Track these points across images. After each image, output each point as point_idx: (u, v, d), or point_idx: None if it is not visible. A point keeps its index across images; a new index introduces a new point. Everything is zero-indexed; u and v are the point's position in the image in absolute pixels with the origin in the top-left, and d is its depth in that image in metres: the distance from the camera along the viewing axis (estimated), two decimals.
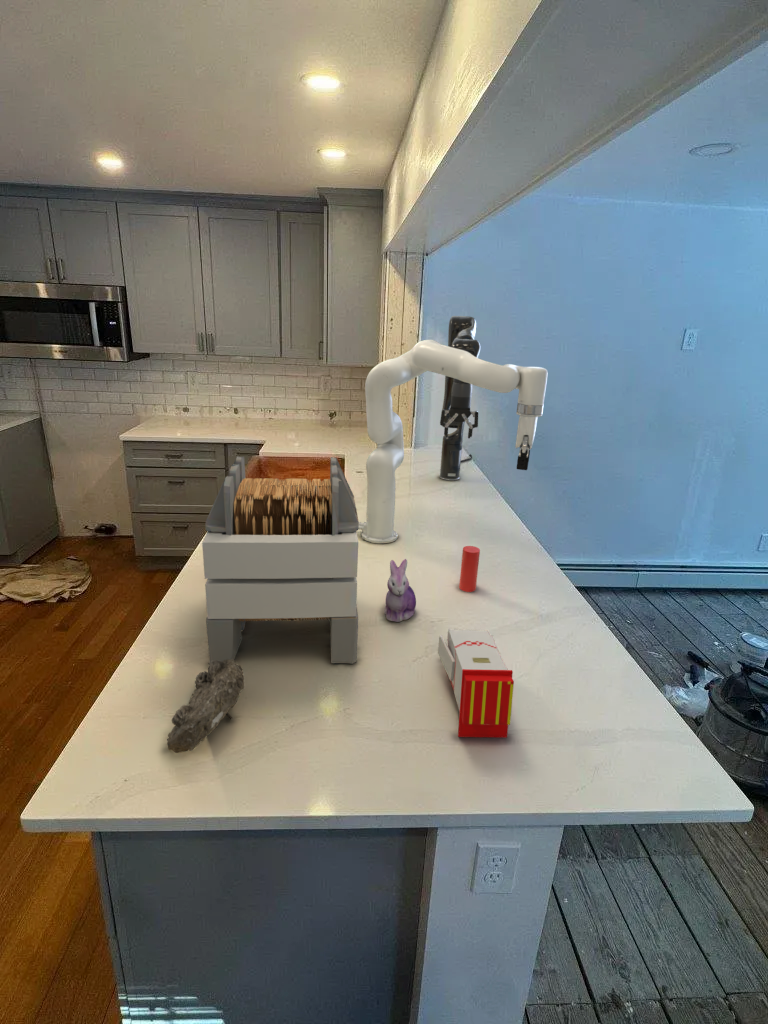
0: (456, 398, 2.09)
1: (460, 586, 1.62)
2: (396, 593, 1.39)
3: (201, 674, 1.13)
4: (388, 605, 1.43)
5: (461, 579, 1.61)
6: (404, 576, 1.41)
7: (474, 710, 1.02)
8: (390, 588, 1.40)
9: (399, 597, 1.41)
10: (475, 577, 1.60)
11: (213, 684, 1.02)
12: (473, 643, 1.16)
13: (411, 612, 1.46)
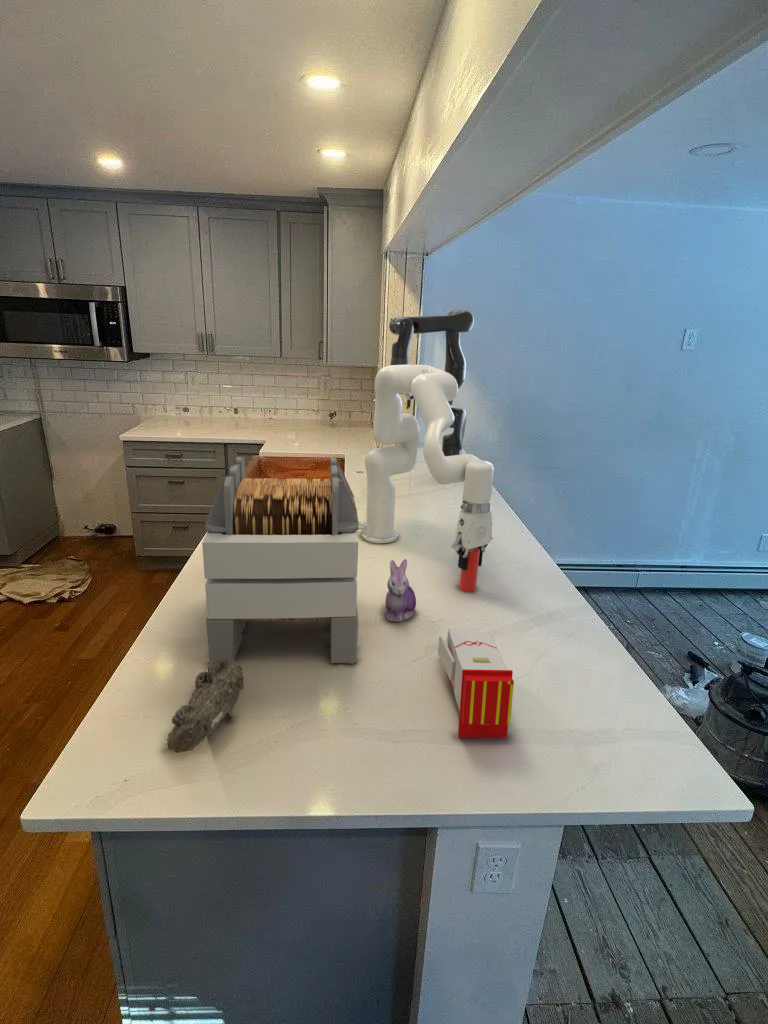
0: None
1: (460, 586, 1.62)
2: (396, 593, 1.39)
3: (201, 674, 1.13)
4: (388, 605, 1.43)
5: (461, 579, 1.61)
6: (404, 576, 1.41)
7: (474, 710, 1.02)
8: (390, 588, 1.40)
9: (399, 597, 1.41)
10: (475, 577, 1.60)
11: (213, 684, 1.02)
12: (473, 643, 1.16)
13: (411, 612, 1.46)
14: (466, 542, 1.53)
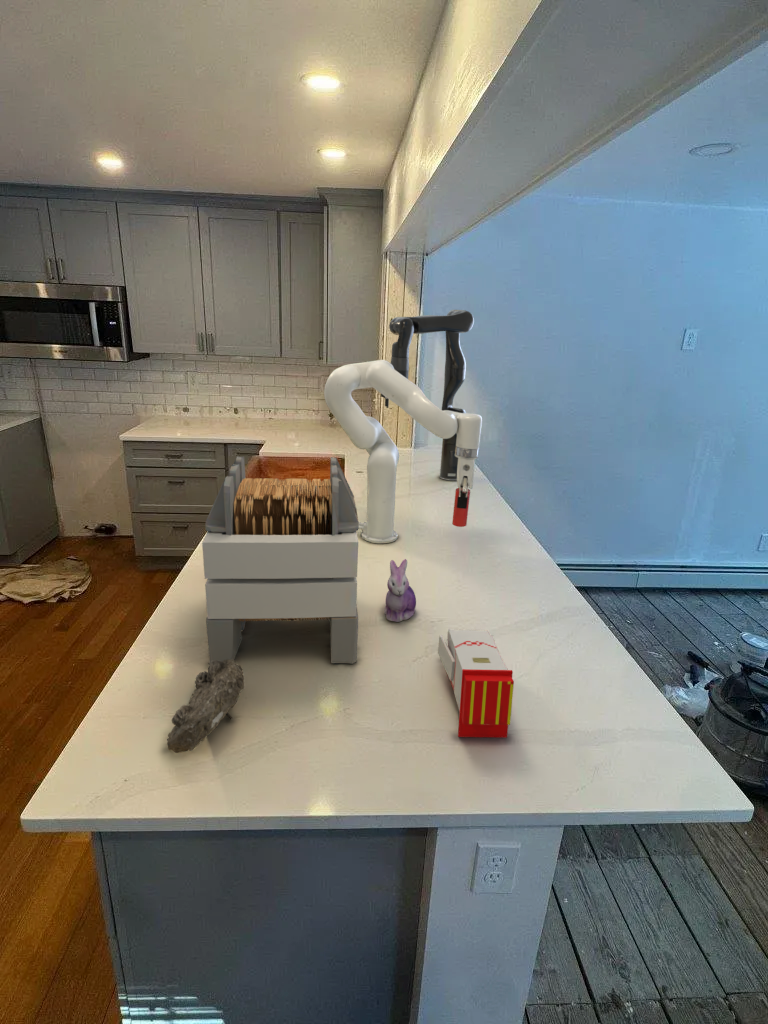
0: None
1: (458, 524, 1.89)
2: (396, 593, 1.39)
3: (201, 674, 1.13)
4: (388, 605, 1.43)
5: (459, 517, 1.88)
6: (404, 576, 1.41)
7: (474, 710, 1.02)
8: (390, 588, 1.40)
9: (399, 597, 1.41)
10: None
11: (213, 684, 1.02)
12: (473, 643, 1.16)
13: (411, 612, 1.46)
14: (472, 483, 1.82)
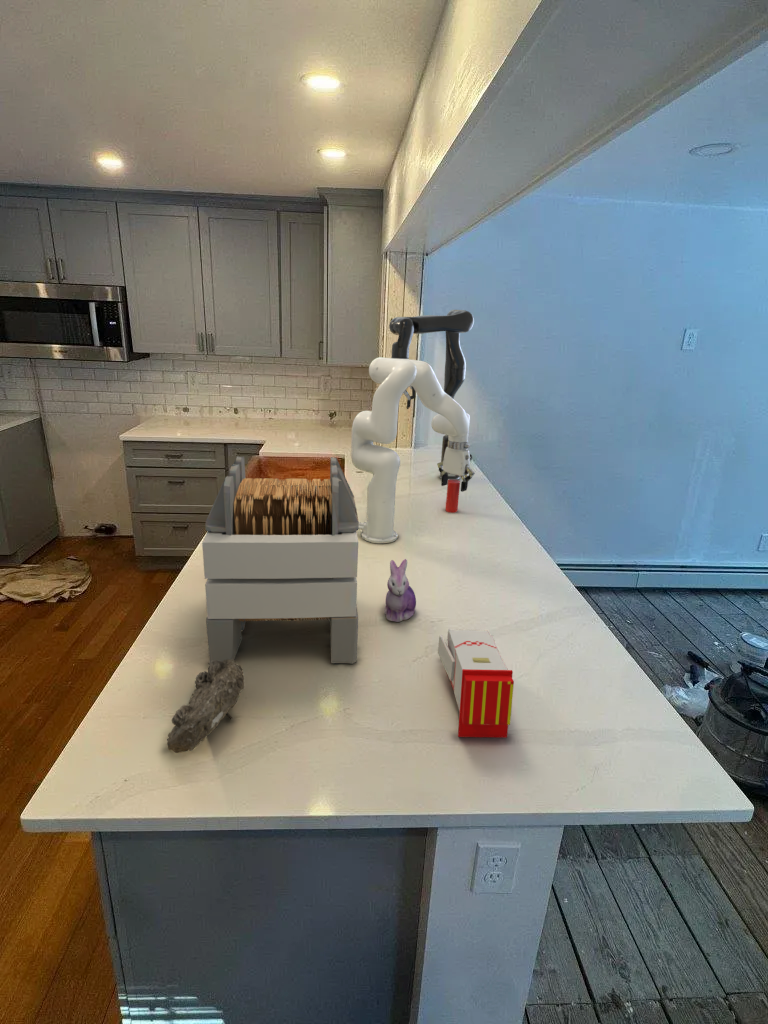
0: None
1: (455, 510, 2.23)
2: (396, 593, 1.39)
3: (201, 674, 1.13)
4: (388, 605, 1.43)
5: (456, 504, 2.23)
6: (404, 576, 1.41)
7: (474, 710, 1.02)
8: (390, 588, 1.40)
9: (399, 597, 1.41)
10: None
11: (213, 684, 1.02)
12: (473, 643, 1.16)
13: (411, 612, 1.46)
14: None
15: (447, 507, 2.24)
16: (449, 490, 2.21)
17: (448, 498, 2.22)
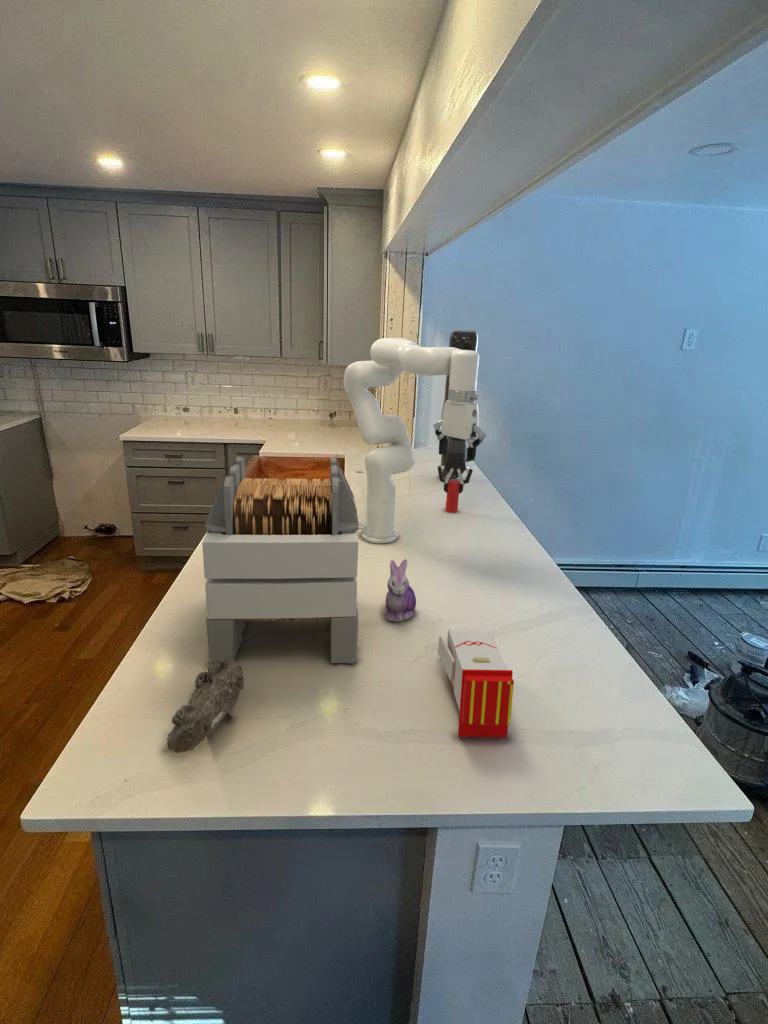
0: (451, 454, 2.15)
1: (455, 510, 2.23)
2: (396, 593, 1.39)
3: (201, 674, 1.13)
4: (388, 605, 1.43)
5: (456, 504, 2.23)
6: (404, 576, 1.41)
7: (474, 710, 1.02)
8: (390, 588, 1.40)
9: (399, 597, 1.41)
10: None
11: (213, 684, 1.02)
12: (473, 643, 1.16)
13: (411, 612, 1.46)
14: None
15: (447, 507, 2.24)
16: (449, 490, 2.21)
17: (448, 498, 2.22)
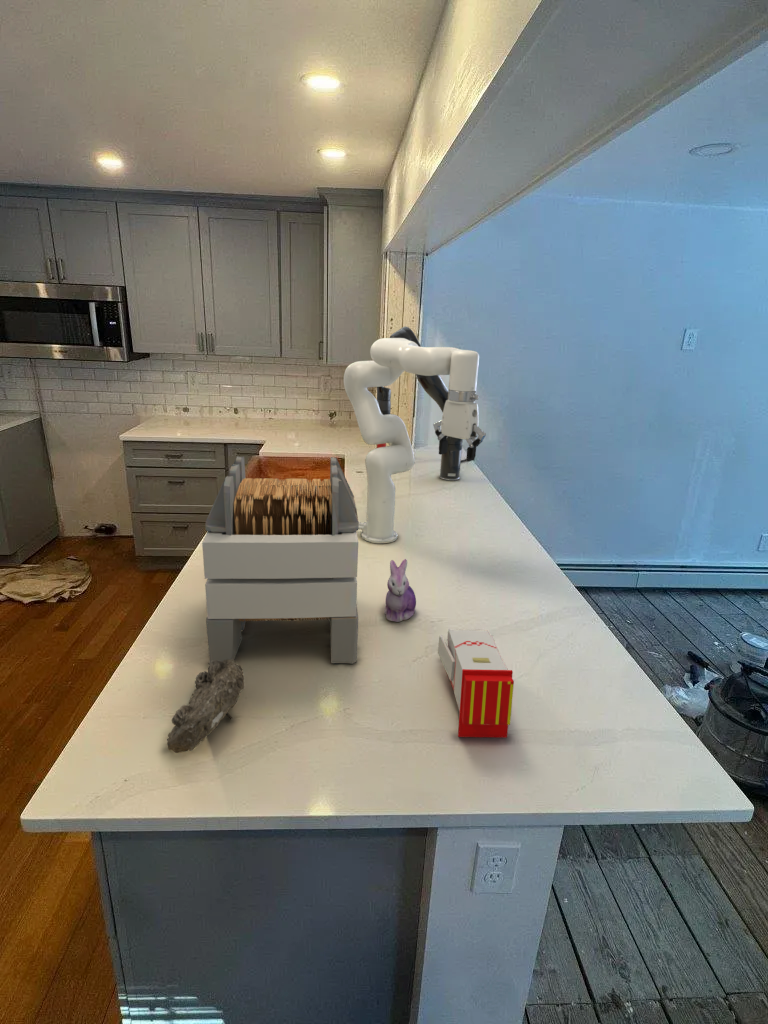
0: None
1: None
2: (396, 593, 1.39)
3: (201, 674, 1.13)
4: (388, 605, 1.43)
5: None
6: (404, 576, 1.41)
7: (474, 710, 1.02)
8: (390, 588, 1.40)
9: (399, 597, 1.41)
10: None
11: (213, 684, 1.02)
12: (473, 643, 1.16)
13: (411, 612, 1.46)
14: None
15: None
16: None
17: None
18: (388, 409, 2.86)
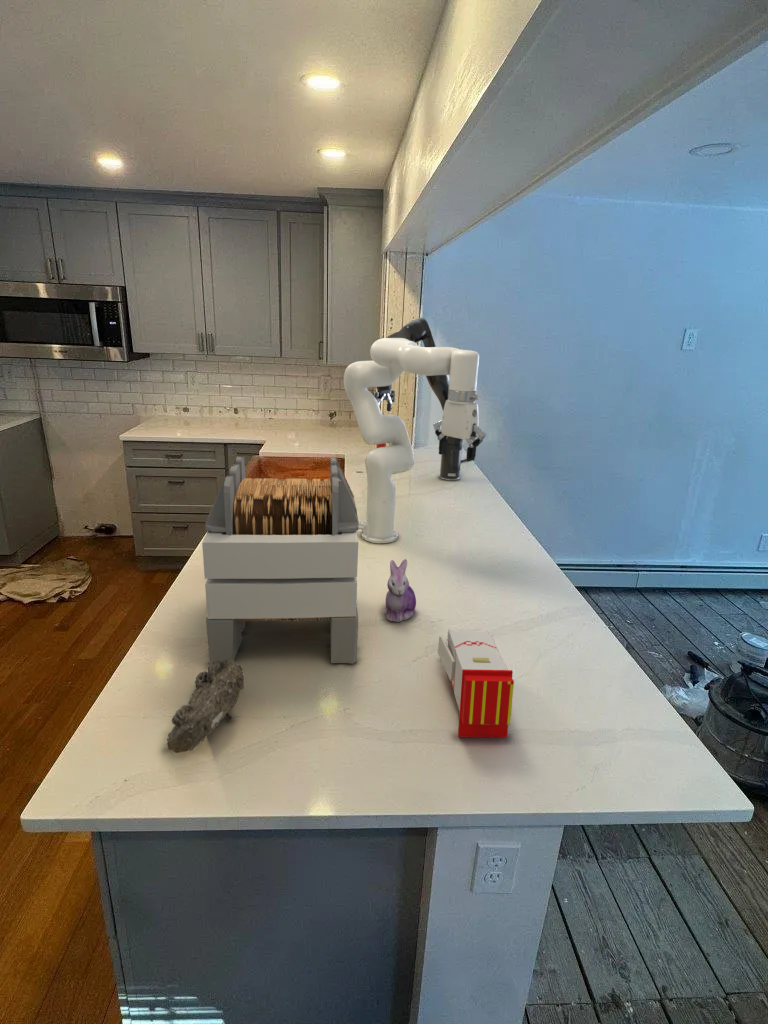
0: None
1: None
2: (396, 593, 1.39)
3: (201, 674, 1.13)
4: (388, 605, 1.43)
5: None
6: (404, 576, 1.41)
7: (474, 710, 1.02)
8: (390, 588, 1.40)
9: (399, 597, 1.41)
10: None
11: (213, 684, 1.02)
12: (473, 643, 1.16)
13: (411, 612, 1.46)
14: None
15: None
16: None
17: None
18: None
